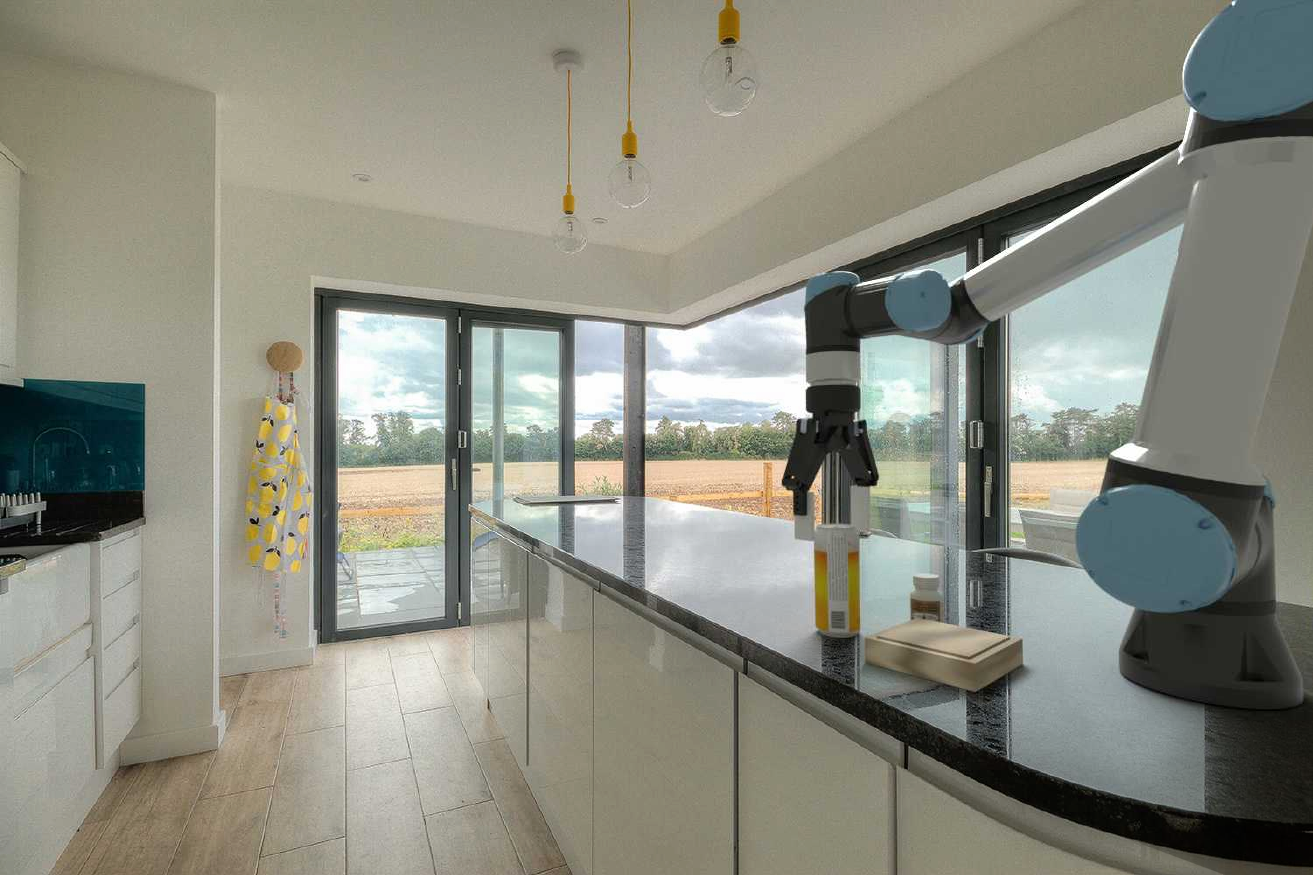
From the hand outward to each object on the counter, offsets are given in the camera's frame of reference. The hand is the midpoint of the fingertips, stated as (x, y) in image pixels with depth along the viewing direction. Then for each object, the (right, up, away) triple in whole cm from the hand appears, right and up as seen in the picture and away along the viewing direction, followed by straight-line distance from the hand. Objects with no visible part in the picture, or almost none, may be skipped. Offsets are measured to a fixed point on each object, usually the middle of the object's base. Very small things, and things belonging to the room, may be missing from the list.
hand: (833, 535), depth 91 cm
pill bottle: (+13, -14, 0) cm, 19 cm away
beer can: (0, -14, 0) cm, 14 cm away
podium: (+9, -13, -14) cm, 21 cm away
